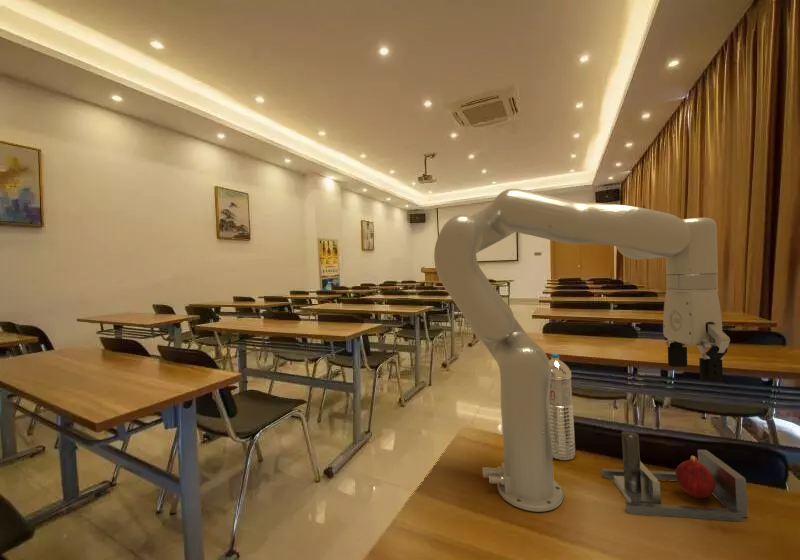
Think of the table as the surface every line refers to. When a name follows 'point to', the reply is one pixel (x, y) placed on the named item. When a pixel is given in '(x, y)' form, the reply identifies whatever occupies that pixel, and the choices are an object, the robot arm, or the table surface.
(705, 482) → the pomegranate
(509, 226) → the robot arm
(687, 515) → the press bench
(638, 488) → the carriage
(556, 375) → the water bottle
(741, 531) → the table surface
